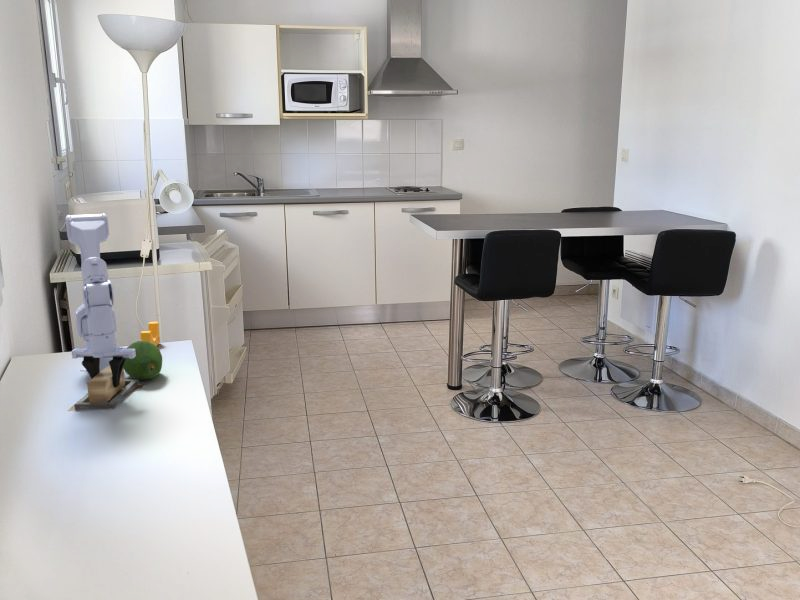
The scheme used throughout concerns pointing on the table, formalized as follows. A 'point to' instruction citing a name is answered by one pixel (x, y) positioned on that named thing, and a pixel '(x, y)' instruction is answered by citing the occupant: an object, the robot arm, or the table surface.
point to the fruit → (144, 361)
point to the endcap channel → (129, 387)
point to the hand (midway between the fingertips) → (107, 385)
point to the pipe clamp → (151, 333)
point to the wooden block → (103, 386)
